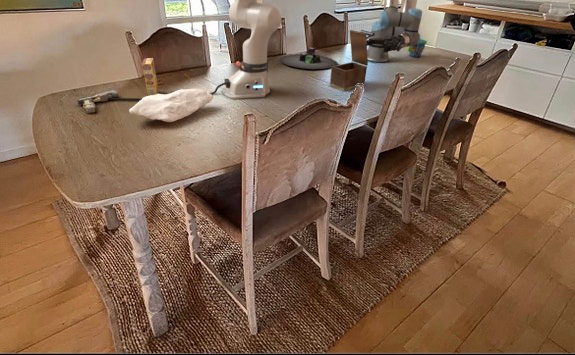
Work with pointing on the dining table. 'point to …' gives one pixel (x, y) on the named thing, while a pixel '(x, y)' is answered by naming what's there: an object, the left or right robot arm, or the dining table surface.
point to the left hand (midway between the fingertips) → (364, 4)
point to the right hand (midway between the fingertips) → (373, 46)
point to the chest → (347, 75)
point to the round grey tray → (308, 60)
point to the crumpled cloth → (171, 104)
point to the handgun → (95, 100)
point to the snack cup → (417, 48)
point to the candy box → (150, 76)
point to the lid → (359, 46)
